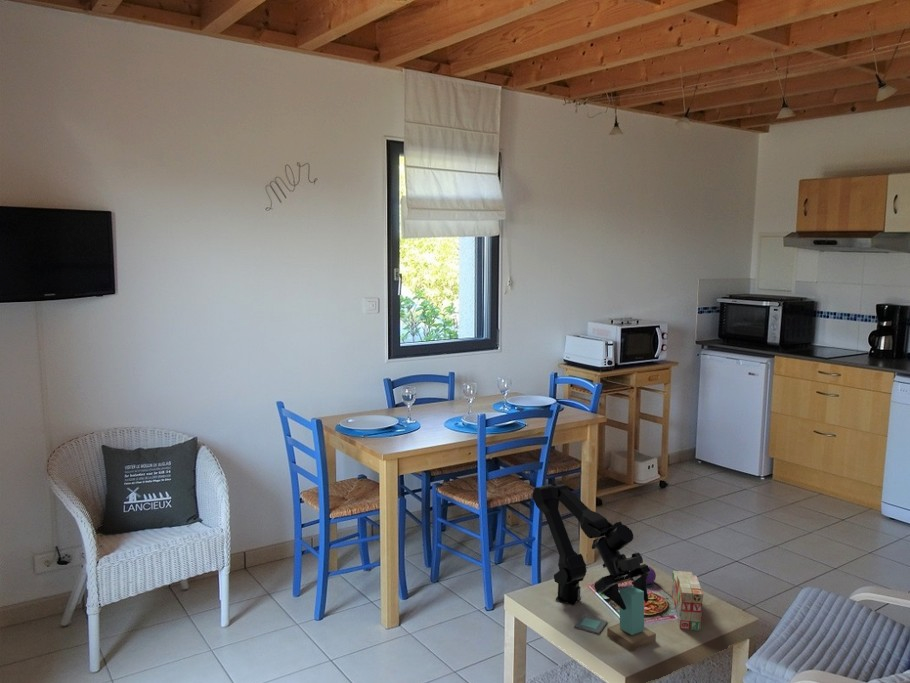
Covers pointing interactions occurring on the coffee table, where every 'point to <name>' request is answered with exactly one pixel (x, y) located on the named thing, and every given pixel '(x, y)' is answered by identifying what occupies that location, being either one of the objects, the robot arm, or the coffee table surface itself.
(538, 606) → the coffee table surface
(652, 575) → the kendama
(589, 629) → the slate tile
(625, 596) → the teal pillar
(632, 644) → the walnut slab
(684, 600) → the stack of blocks
